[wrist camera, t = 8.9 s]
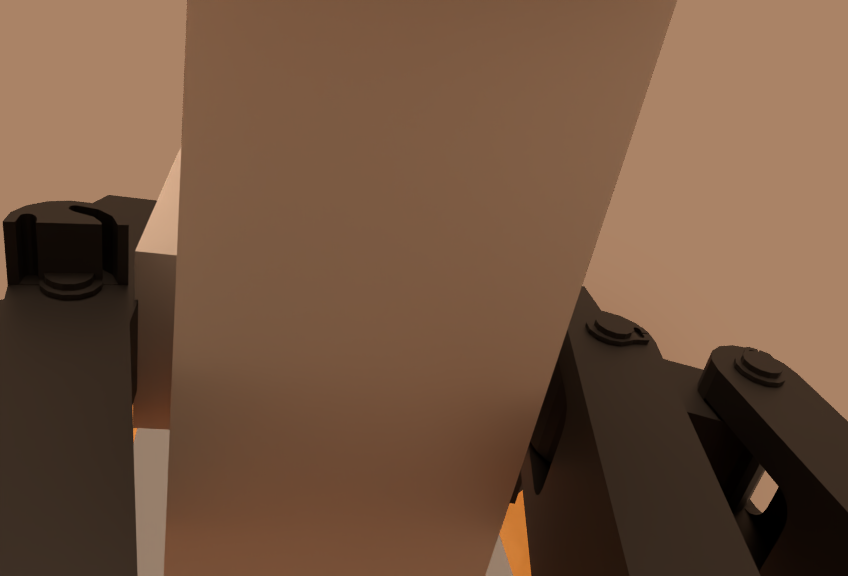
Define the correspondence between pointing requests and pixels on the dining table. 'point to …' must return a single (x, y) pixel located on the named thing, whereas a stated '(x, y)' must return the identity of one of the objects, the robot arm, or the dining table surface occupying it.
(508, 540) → the dining table surface
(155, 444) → the frame
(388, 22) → the cream block
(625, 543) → the robot arm
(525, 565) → the dining table surface
